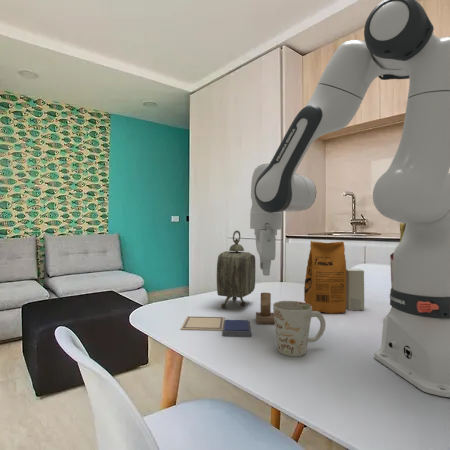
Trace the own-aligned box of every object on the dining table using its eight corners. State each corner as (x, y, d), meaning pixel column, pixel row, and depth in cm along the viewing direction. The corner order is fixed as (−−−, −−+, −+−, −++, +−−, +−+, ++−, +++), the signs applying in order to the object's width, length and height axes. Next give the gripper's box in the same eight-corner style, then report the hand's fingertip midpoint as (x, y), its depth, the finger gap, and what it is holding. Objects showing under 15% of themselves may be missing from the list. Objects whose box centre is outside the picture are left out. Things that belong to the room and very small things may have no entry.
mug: (265, 346, 75) (266, 302, 75) (312, 340, 80) (313, 298, 80) (285, 361, 67) (285, 312, 67) (336, 353, 72) (336, 306, 72)
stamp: (275, 324, 91) (275, 295, 91) (256, 324, 91) (257, 295, 91) (273, 319, 96) (273, 291, 96) (255, 319, 96) (256, 291, 96)
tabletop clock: (231, 299, 119) (232, 229, 119) (255, 302, 116) (256, 230, 116) (216, 309, 106) (217, 230, 106) (243, 312, 103) (244, 231, 102)
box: (360, 307, 111) (360, 268, 110) (364, 310, 106) (365, 270, 106) (343, 306, 111) (344, 268, 111) (347, 310, 107) (348, 270, 107)
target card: (223, 330, 86) (223, 329, 86) (180, 329, 86) (180, 328, 86) (224, 318, 97) (224, 316, 97) (187, 317, 97) (187, 316, 97)
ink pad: (251, 336, 81) (251, 330, 81) (222, 336, 82) (222, 330, 82) (249, 325, 90) (249, 319, 90) (223, 324, 91) (224, 319, 91)
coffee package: (302, 305, 113) (303, 240, 112) (340, 306, 111) (341, 240, 111) (306, 313, 103) (307, 241, 102) (348, 314, 101) (349, 242, 101)
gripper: (282, 224, 83) (280, 279, 83) (273, 222, 103) (272, 266, 104) (256, 223, 83) (255, 278, 84) (253, 221, 104) (251, 266, 104)
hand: (264, 272), depth 94 cm, fingers open, 8 cm apart
